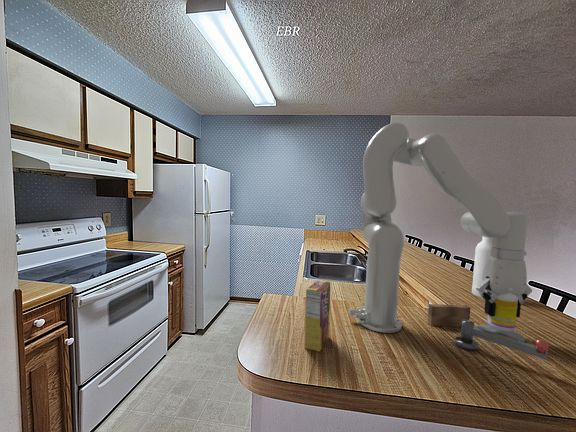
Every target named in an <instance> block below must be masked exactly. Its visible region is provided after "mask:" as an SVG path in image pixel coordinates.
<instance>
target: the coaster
mask: <svg viewBox="0 0 576 432" xmlns="http://www.w3.org/2000/svg"><path fill="white" fill-rule="evenodd" d="M477 328H480V329H483V330H486V331H489V332H493V333H496V334H499V335H502V336H506V337H509V338H512V339H515V340H518V341H522V342H525V341H526V339H525V337H524V336H523V335H522V334H521V333H519V332H517V331H515V330H514V331H503V330H499V329H496V328H493V327H491V326H490V325H489V324H488V323H485V324H483V323H482V324H479V325H477ZM525 343H526V342H525Z"/></svg>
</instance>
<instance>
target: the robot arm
mask: <svg viewBox="0 0 576 432" xmlns="http://www.w3.org/2000/svg"><path fill="white" fill-rule="evenodd" d="M394 163H400V164H404V165H408V166H409V165H410V166H414V167H424V169H425V170H426V172H427V173H428V175H429V176H430V178H431V179H432V181H433V182H434V184H435V185H436V187H437V189H438V190H439V191H440V192H442V193H443V194H444V195H446V196H448V197H450V198H452V199H454V200H456V201H457V202H458V203H460V204H461V205H462V206H463V207H464V208H465V209H466V210H467V212H465V213H464V214H463V215H462V216H461V218H460V222H459V223H460V227H461V228H462V229H463V231H465V232H466V233H468V234H470V235H473V236H478V237H487V238H492V247H491V257H488V258H487V261H486V264H485V267H484V271H483V277H482V283H480V284H479V285H478V286H477V287H476V289H477V291H478V292H479V293H480V295H481V296H482V297H483V298H482V299H483V300H484V313H485V314H486V315H487V316H488V315H490V316H492V317H494V316H495V308H496V303H494V301H495V299H496V297H497V295H498V294H507V293H512V294H514V295H516V296H517V297H518V305H517V317H516V318H520V317H521V307H522V305H523V304H524V301H525V300H526V299H527V298H528V296H529V295H530V294H532V293H533V289H532V288H531V287H530V286H529V285H528V283H527V280H528V278H527V275H528V274H527V264H526V260H525V256H527V252H526V251H525V249H526V236H527V228H528V227H527V226H528V215H526V214H525V213H523V212H517V211H506V210H505V208H504V206H503V204H501V202H500V200H499V199H498V198H497V196H496V195H495V194H494V193H493V191H491V190H490V189H488V188H487V187H486V186H485V185H484V184H482V183H481V182H480V181H479V180H478V179H476V178H475V177H473V176H472V175H471V174H470V173H469V172H468V170H467V169H466V166H464V164H463V163H462V161H461V160H460V158H459V157H458V155H457V154H456V152H455V151H454V149H453V147H452V146H451V145H450V143H449V141H448V140H447V139H446V138H445V137H444V136H443V135H442V134H439V133H429V134H426V135H424V136H422V137H420V138H412V137H410V132H409V129H408V127H407V126H406V125H405V124H403V123H401V122H392V123H391V122H390V123H388V124H387V125H385V126H383V127H381V128H380V129H379V130H378V131H377V132H376V133H375V134H374V135H373V136H372V138H370V141H369V142H368V145H367V146H366V148H365V151H364V154H363V158H362V174H363V188H364V192H363V193H362V195H361V197H360V213H361V221H362V222H361V223H362V229H363V235H364V240H365V241H366V243H367V244H368V251H367V260H366V276H365V290H364V292H365V293H364V305H363V304H362V305H361V307H360V308H359V307H358V308H357V309H356V308H348V316H354V318H355V319H358V322H359V324H360V325H361V326H363V327H365V328H366V329H368V330H369V331H370V330H371V331H374V332H378V333H383V334H391V333H392V334H394V333H397V332H399V331H401V330H402V327H403V325H402V321H401V320H400V319H398V318H397V317H398V316H397V315H398V304H399V303H398V302H399V288H400V287H399V286H400V272H401V261H402V255H403V250H404V244H405V242H404V241H405V238H404V234H403V231H402V230H401V229H400V227H399V226H398V225H397V224H395V223H393V222H392V221H393V220H392V214H393V213H394V211H395V210H396V207H397V196H396V190H395V183H394V182H395V181H394ZM509 288H512V289H513V290H508V289H509ZM485 290H487V291H486V292H485ZM491 293H492V295H491ZM490 295H491V297H490Z"/></svg>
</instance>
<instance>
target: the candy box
mask: <svg viewBox="0 0 576 432" xmlns="http://www.w3.org/2000/svg"><path fill="white" fill-rule="evenodd" d="M330 308H331V282H330V281H325V280H316V281H315V282H314V283H312V284H311V285H310V286H309V287H307V288H306V289H305V319H304V320H305V322H304V323H305V324H304V325H305V326H304V327H305V328H304V348H305V349H307V350H310V351H315V352H321V350H322V349H323V347H324V345H325V343H327V342H326V341H327V340H328V339H329V337H330V321H331V320H330V319H331V318H330V317H331V315H330V313H331V312H330V311H331V309H330Z"/></svg>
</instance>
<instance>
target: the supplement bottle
mask: <svg viewBox="0 0 576 432" xmlns="http://www.w3.org/2000/svg"><path fill="white" fill-rule="evenodd" d="M508 290H513V289H512V288H509V289H508ZM491 295H492V293H491ZM491 295H490V297H491ZM494 303H496V308H495V316H494V317H492V316H490V315H488V314H487V316H486V317H487V318H486V319H487V320H486V322H487V323H486V324H489V325H490V326H491V327H493V328H496V329H499V330H503V331H515V330H516V326H517V318H518V317H517V305H518V297H517V296H516V295H514V294H512V293H507V294H498V295H497V297H496V299H495V301H494Z"/></svg>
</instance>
